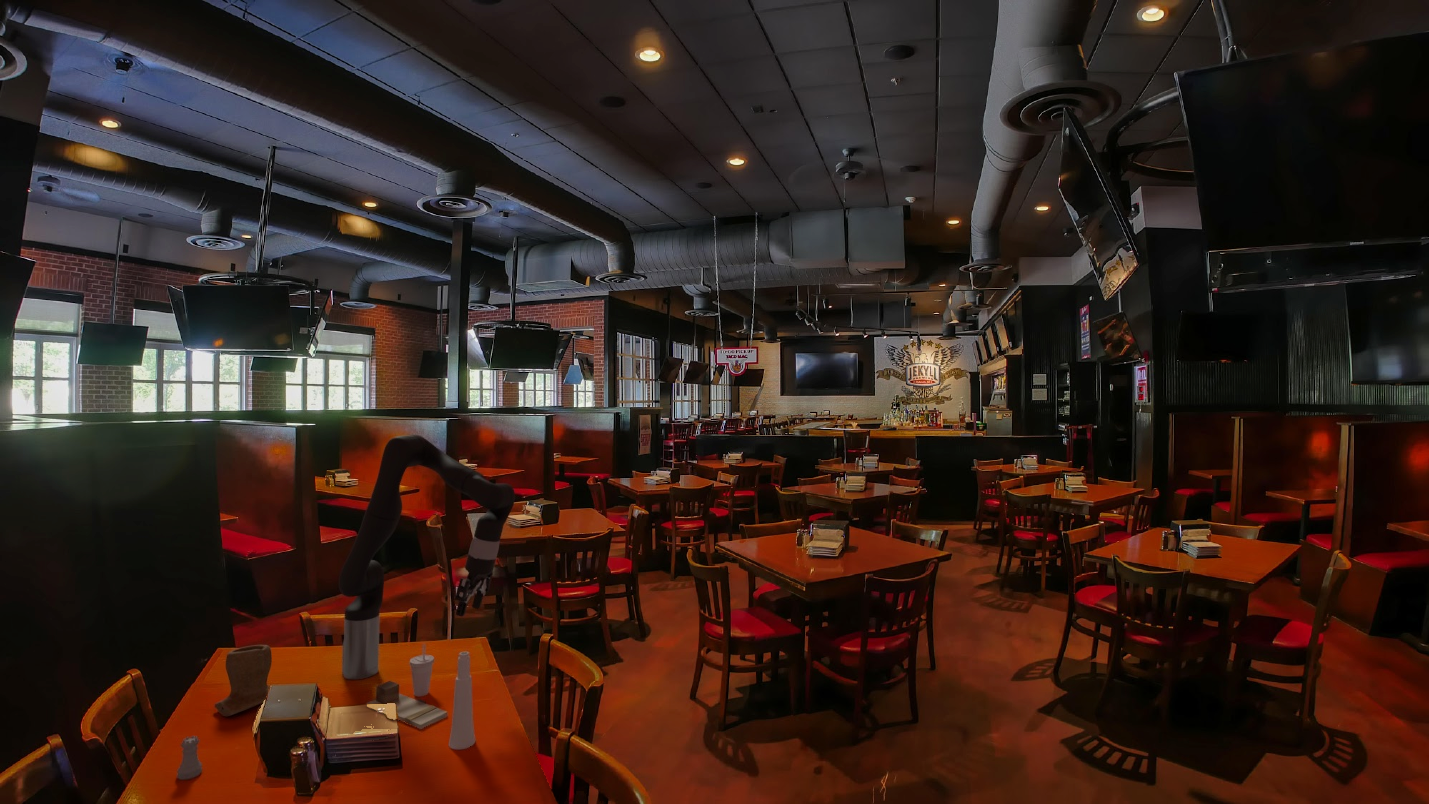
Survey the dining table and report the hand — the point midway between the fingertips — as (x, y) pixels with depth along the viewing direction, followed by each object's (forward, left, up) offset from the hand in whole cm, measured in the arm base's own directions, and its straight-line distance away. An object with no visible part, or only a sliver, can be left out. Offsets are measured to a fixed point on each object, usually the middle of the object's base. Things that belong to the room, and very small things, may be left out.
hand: (467, 611), depth 184 cm
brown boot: (-46, -33, -25) cm, 62 cm away
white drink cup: (-13, -4, -25) cm, 28 cm away
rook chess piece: (-21, -56, -25) cm, 65 cm away
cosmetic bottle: (+18, -16, -25) cm, 34 cm away
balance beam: (-7, -13, -24) cm, 29 cm away
